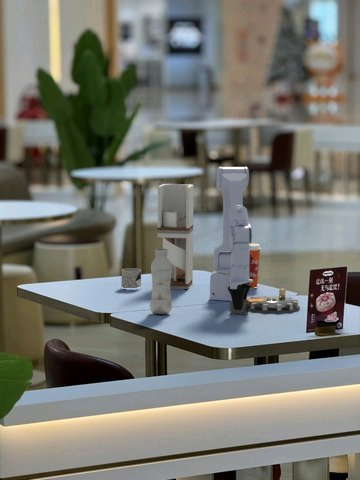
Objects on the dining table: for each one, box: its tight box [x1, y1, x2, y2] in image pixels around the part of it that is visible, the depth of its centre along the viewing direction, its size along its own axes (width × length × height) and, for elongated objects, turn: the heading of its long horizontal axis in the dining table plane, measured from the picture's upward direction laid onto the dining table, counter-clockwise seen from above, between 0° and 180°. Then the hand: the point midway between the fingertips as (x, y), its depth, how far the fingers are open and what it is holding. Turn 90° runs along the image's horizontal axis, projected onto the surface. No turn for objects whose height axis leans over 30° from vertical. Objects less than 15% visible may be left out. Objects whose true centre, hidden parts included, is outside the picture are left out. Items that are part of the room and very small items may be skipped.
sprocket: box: [246, 288, 299, 311], centre depth 387 cm, size 17×17×5 cm
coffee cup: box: [246, 242, 262, 288], centre depth 423 cm, size 8×8×15 cm
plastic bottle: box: [149, 247, 173, 315], centre depth 374 cm, size 6×7×20 cm
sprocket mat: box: [248, 305, 301, 315], centre depth 387 cm, size 19×18×1 cm
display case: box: [157, 183, 195, 290], centre depth 422 cm, size 11×11×35 cm
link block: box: [229, 300, 249, 316], centre depth 378 cm, size 5×3×4 cm, turn 71°
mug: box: [121, 267, 142, 288], centre depth 421 cm, size 10×7×7 cm
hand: (239, 308), depth 378 cm, fingers closed on link block, 3 cm apart
